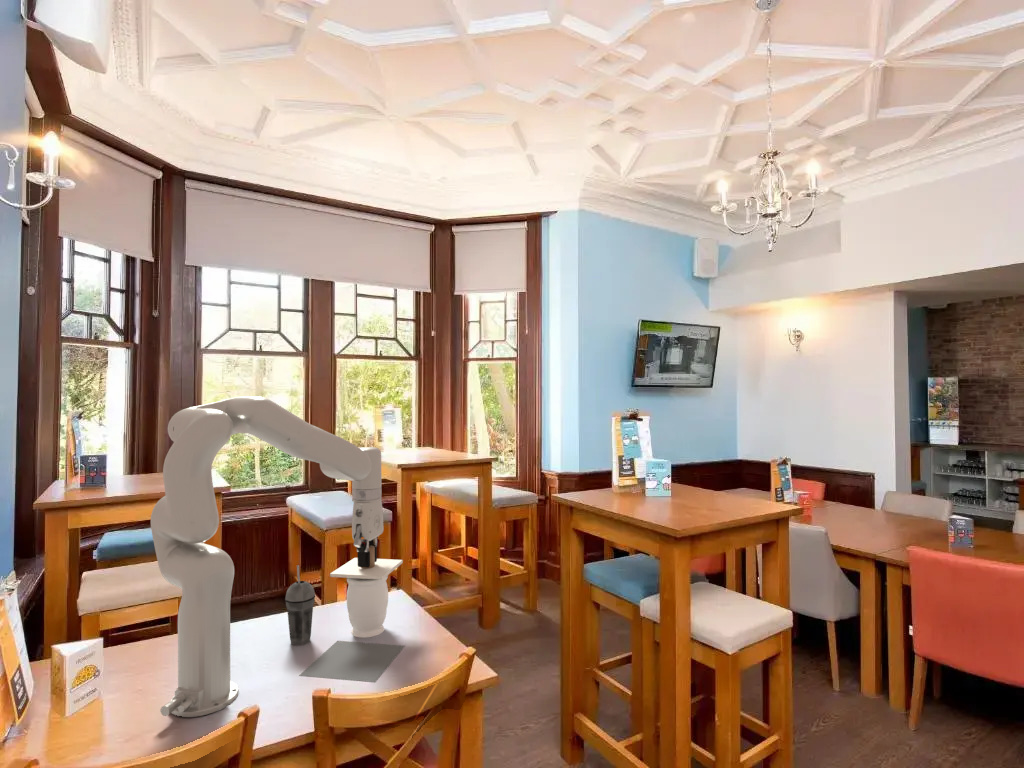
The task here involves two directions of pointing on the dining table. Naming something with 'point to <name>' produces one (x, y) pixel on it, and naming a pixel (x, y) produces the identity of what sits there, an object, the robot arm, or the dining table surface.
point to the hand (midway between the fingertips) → (367, 563)
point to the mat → (353, 661)
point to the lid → (367, 568)
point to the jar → (367, 605)
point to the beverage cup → (300, 611)
